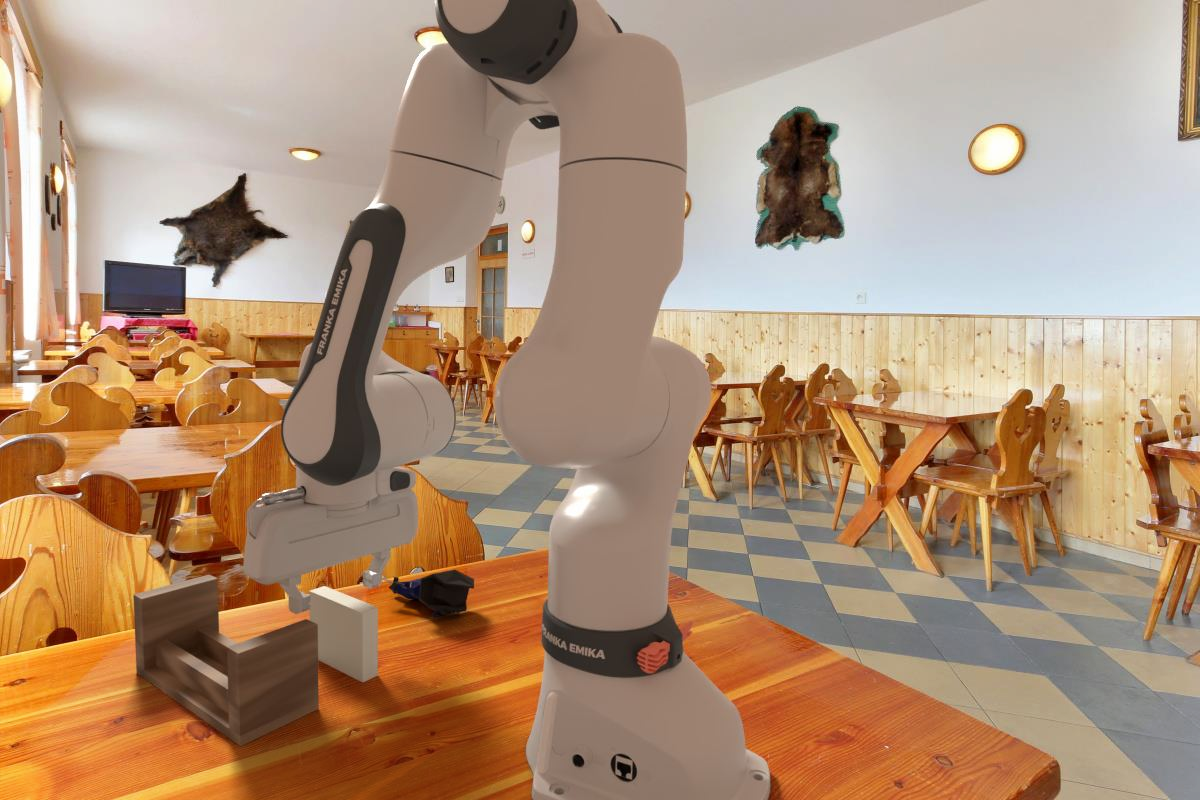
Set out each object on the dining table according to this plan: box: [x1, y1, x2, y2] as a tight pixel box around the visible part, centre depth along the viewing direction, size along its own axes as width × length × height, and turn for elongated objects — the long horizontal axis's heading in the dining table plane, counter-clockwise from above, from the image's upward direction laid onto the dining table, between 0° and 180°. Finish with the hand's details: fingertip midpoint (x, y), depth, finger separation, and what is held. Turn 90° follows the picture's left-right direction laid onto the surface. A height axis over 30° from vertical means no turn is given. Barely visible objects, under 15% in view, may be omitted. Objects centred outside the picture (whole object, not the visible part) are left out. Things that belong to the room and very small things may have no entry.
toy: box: [382, 569, 475, 618], centre depth 96 cm, size 9×6×15 cm
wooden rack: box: [133, 574, 320, 747], centre depth 73 cm, size 22×8×9 cm, turn 55°
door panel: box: [308, 585, 379, 683], centre depth 79 cm, size 10×2×8 cm, turn 55°
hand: (337, 597), depth 79 cm, fingers open, 8 cm apart
